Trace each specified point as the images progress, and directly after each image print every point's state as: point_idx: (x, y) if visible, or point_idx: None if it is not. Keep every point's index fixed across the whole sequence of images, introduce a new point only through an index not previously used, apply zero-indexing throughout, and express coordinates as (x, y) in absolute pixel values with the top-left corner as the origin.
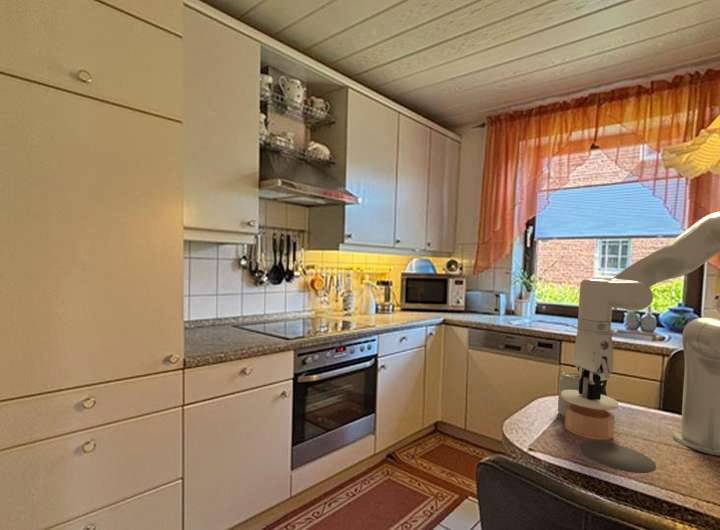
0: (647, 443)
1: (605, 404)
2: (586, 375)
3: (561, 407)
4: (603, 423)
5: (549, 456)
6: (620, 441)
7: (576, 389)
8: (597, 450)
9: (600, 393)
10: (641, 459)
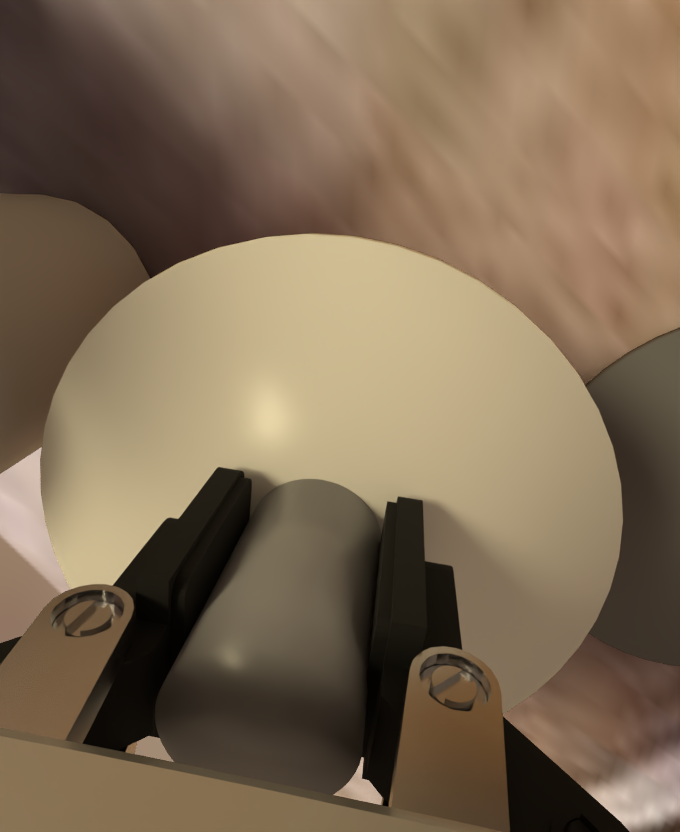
0: (607, 56)
1: (542, 523)
2: (106, 704)
3: None
4: None
5: (607, 793)
6: (530, 278)
7: (2, 439)
8: (636, 565)
9: (422, 540)
10: None
